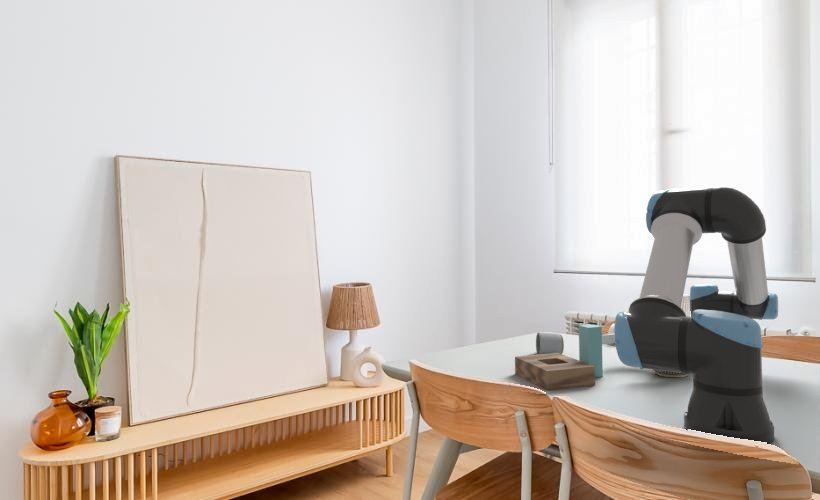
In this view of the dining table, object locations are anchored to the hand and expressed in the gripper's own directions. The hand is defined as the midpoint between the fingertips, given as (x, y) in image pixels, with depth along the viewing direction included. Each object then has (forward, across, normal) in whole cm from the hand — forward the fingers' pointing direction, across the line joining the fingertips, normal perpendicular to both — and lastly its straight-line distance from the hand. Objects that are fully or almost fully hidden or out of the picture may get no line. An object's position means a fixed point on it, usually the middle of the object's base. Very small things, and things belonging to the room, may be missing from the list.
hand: (616, 343), depth 149 cm
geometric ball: (-28, +36, -8) cm, 46 cm away
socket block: (+21, 0, -8) cm, 22 cm away
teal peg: (+9, 0, -8) cm, 12 cm away
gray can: (+5, +29, -9) cm, 31 cm away
